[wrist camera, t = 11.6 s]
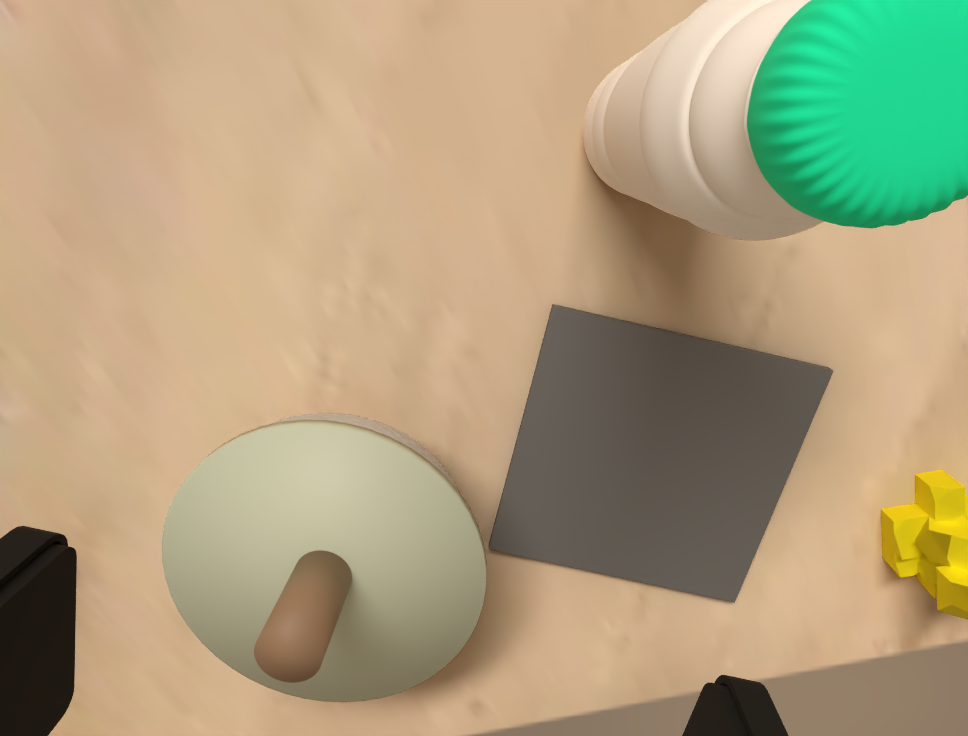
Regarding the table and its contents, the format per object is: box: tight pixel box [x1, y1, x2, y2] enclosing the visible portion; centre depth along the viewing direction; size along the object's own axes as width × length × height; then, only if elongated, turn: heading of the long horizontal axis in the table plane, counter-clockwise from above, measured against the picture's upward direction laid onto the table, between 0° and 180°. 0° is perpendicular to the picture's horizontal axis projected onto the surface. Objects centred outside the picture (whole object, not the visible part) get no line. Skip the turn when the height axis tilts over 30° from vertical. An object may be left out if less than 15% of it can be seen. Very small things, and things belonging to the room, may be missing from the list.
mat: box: [489, 304, 833, 603], centre depth 41 cm, size 17×17×1 cm
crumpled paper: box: [881, 470, 968, 619], centre depth 39 cm, size 6×8×8 cm
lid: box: [162, 420, 486, 702], centre depth 34 cm, size 18×18×7 cm
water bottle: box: [583, 0, 968, 240], centre depth 23 cm, size 7×7×25 cm
